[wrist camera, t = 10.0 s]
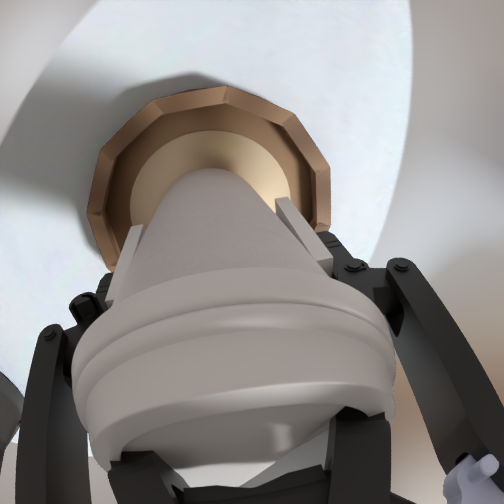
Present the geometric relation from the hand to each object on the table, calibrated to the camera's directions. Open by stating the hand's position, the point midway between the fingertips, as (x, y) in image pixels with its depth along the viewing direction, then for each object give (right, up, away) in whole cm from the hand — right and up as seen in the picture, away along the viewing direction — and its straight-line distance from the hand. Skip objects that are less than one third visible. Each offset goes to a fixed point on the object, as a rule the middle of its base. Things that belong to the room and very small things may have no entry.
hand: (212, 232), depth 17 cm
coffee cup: (0, +1, +2) cm, 2 cm away
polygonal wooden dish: (-1, +2, +3) cm, 4 cm away
